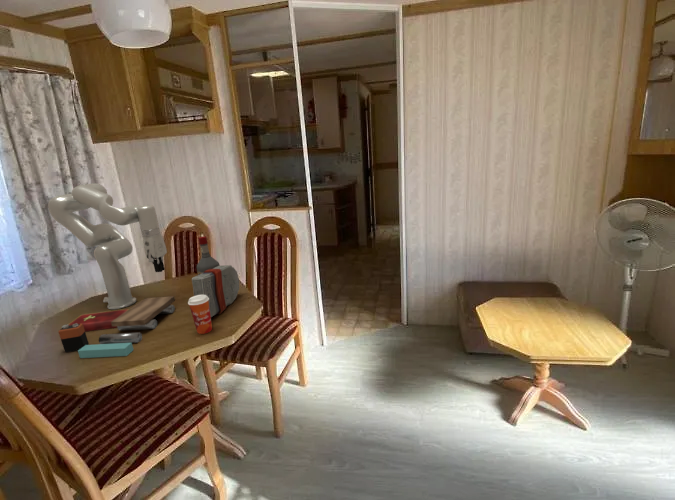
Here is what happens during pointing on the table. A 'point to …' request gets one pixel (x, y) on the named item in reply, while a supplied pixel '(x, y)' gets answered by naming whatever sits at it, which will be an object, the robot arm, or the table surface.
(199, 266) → the liquor
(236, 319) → the table surface
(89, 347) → the block
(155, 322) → the front roller
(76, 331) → the battery
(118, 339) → the roller
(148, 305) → the walnut slab
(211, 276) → the decorative stone tablet
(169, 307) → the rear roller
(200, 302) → the paper cup
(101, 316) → the hardcover book
